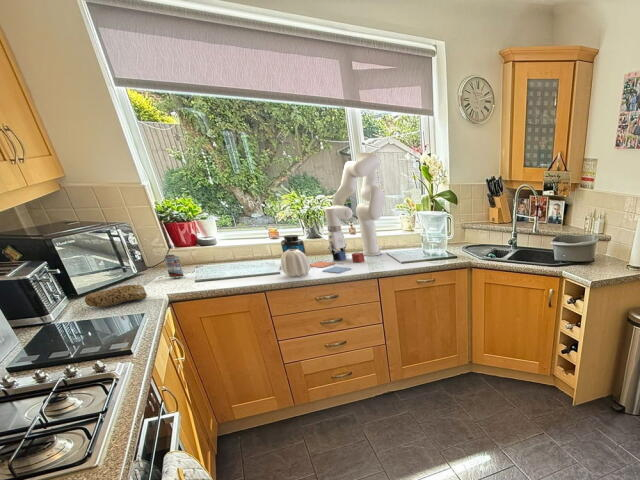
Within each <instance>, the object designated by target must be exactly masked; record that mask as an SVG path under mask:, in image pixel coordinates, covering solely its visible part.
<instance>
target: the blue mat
mask: <svg viewBox="0 0 640 480" xmlns="http://www.w3.org/2000/svg"><path fill="white" fill-rule="evenodd" d="M349 270H352V268H351V267H344V266H332V267H329V268H327V269H324V270H322V272H323V273H331V274H341V273H344V272H346V271H349Z"/></svg>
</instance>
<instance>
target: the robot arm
mask: <svg viewBox="0 0 640 480" xmlns="http://www.w3.org/2000/svg"><path fill="white" fill-rule="evenodd" d="M380 165H381V159H380V157H379V155H378V154H376V153H374V152H359V153H358V154H357V156H356V160H348V161H346V162H345V164H344V167H343V171H342V176H341V182H340V186H339V187H338V189H337V190H336V192H335V194H334V196H333V198H332V202H331V206H326V207H324V209H323V210H324V215H325V221H326V226H327V240H328V247H327V249H328V251H330V253H331V254H332V259H333V261H337V260H338V255H337V254H336V251H338V250H339V251H344V252H345V253H346V248H347V242H346V238H345V235H344V232H343V230H342V226H341V220H350V219H351V218H353V210H352V208H350V207H349V206H346V205H345V203H346V201H347V199H348V198H349V197H350V196H352V195H353V194H354V193H355V192H356V189H357V184H358V180H359V178H363V179H362V183H361V191H360V194H361V195H360V197H361V199H362V200H363V201H365V202H360V203H358V204H357V206H356V208H355V212H356V216H357V219H358V224H359V229H360V230H359V231H360V236H361V244H362V251H361V253H363V254H364V257H365V256H367V257H368V256H369V257H374V256H380V255H381V254H382V252H381V249H383V248H382V246H381V245H378V238H377V229H376V224H375V221H378V220H379V219H381V216H382V212H383V207H384V201H385V192H384V190H383V189H382V188H381V187H380V186H378V180H379V179H378V177H379V176H378V173H377V171H376V170H377V169H379V168H380ZM345 257H346V258H347V256H346V254H345Z"/></svg>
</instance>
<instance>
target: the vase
mask: <svg viewBox="0 0 640 480" xmlns="http://www.w3.org/2000/svg"><path fill="white" fill-rule="evenodd" d="M280 264H281V269H282V272H283V273H284V274H285V275H287V276H288V277H303V276H306V275H308V274H309V273H310V271H311V266H310V264H311V263H310V261H309V259H308V257H307V254H306V255H305V254H304V253H303V252H301V251H300V250H297V249H290V250H287V251H285V252H284V253H283V252H282V254H281V258H280Z"/></svg>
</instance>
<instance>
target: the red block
mask: <svg viewBox="0 0 640 480" xmlns="http://www.w3.org/2000/svg"><path fill="white" fill-rule="evenodd" d="M351 259H352V263H357V264H361V263H364V262H365V255H364V254H363V253H362V252H354V253H351Z"/></svg>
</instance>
